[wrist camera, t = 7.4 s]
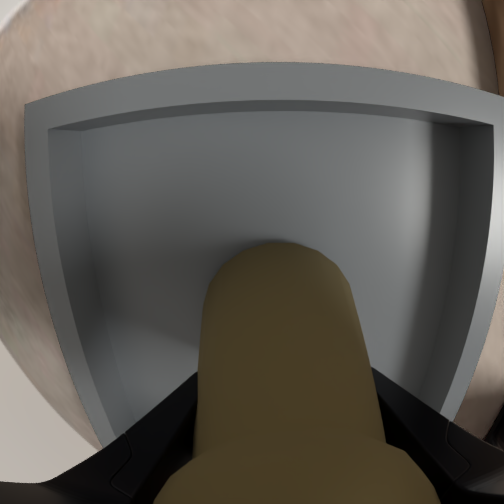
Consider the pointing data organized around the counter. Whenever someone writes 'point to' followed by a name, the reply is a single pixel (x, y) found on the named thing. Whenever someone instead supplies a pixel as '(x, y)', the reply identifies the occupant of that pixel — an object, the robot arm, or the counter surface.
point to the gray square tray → (264, 216)
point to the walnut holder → (496, 36)
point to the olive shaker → (288, 393)
